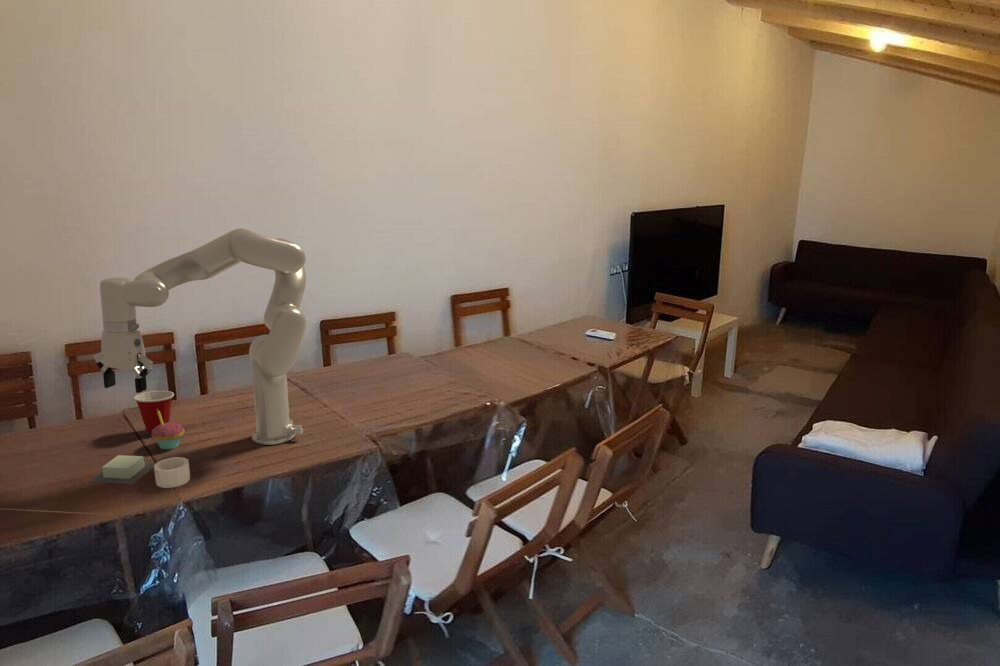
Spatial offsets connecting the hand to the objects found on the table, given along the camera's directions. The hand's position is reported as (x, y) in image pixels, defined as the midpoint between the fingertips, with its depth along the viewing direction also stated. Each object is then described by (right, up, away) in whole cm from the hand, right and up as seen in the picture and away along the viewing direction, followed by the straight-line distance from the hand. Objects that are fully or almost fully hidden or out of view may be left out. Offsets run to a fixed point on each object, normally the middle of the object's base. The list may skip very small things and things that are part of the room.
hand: (125, 388), depth 175 cm
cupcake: (+3, -18, +18) cm, 26 cm away
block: (-1, -22, +2) cm, 22 cm away
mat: (-1, -23, +2) cm, 23 cm away
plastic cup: (-6, -15, +28) cm, 33 cm away
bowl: (+14, -24, -2) cm, 28 cm away
